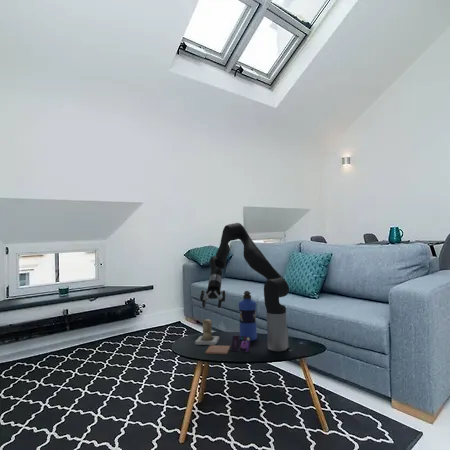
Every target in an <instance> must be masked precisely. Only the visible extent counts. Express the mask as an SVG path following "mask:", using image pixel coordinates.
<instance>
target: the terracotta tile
mask: <svg viewBox="0 0 450 450" xmlns="http://www.w3.org/2000/svg"><path fill="white" fill-rule="evenodd" d="M230 350H231V345H217V344H216V345H208V348H207V349H206V350H205V354H207V355H228V353H229V351H230Z"/></svg>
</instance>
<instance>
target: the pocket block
mask: <svg viewBox="0 0 450 450" xmlns="http://www.w3.org/2000/svg"><path fill="white" fill-rule="evenodd" d="M219 340H220V336H219V335H218V336H217V335H212V341H203V335H200V336H199V337H198V338H197V339H195V341H194V344H195V345H197V346H198V345H199V346H200V345H201V346H202V345H204V346H210V345H217V343H218V342H219Z"/></svg>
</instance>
